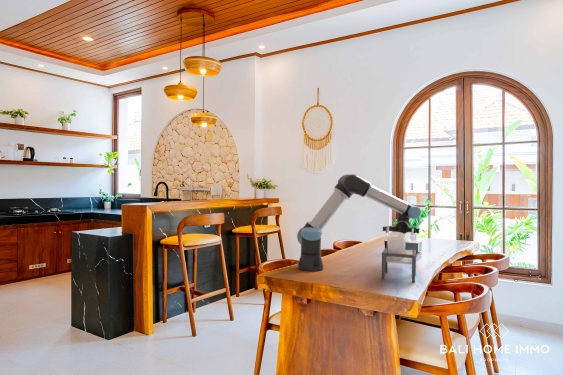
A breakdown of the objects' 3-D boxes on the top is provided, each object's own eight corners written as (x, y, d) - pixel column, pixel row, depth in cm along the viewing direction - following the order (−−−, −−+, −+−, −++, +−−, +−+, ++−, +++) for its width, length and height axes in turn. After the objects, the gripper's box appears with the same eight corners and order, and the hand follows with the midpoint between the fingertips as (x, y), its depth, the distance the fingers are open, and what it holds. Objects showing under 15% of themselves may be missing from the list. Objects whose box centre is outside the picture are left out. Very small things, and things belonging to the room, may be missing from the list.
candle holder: (405, 261, 202) (405, 240, 198) (386, 259, 206) (385, 238, 202) (406, 252, 211) (406, 232, 207) (388, 251, 214) (387, 231, 211)
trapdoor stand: (381, 279, 203) (381, 252, 203) (384, 272, 219) (385, 247, 219) (414, 282, 197) (415, 255, 197) (415, 275, 214) (416, 249, 214)
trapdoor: (385, 262, 205) (385, 260, 205) (388, 250, 217) (388, 248, 217) (411, 264, 200) (411, 262, 200) (412, 251, 213) (412, 250, 212)
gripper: (423, 235, 232) (423, 239, 212) (381, 232, 241) (376, 236, 221) (423, 222, 232) (423, 226, 212) (381, 220, 241) (377, 223, 221)
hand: (399, 231), depth 216 cm, fingers open, 13 cm apart
